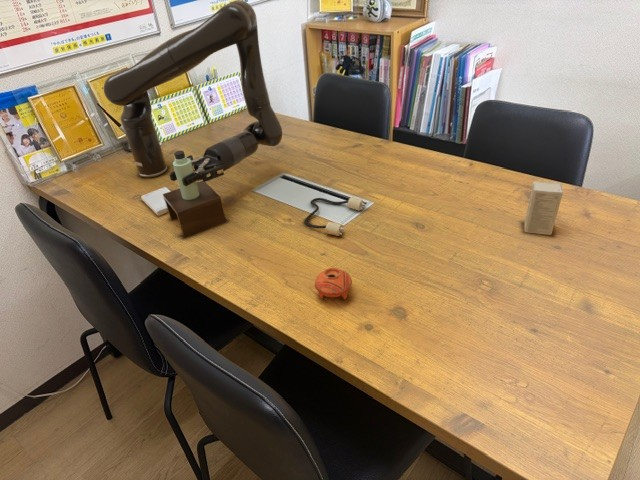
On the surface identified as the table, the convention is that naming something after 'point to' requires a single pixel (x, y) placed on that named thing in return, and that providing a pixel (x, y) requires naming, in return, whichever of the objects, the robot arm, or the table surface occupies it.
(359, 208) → the cable
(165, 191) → the hard drive
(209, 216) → the stand
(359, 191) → the table surface
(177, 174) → the bottle
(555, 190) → the cosmetic box
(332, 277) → the pot
